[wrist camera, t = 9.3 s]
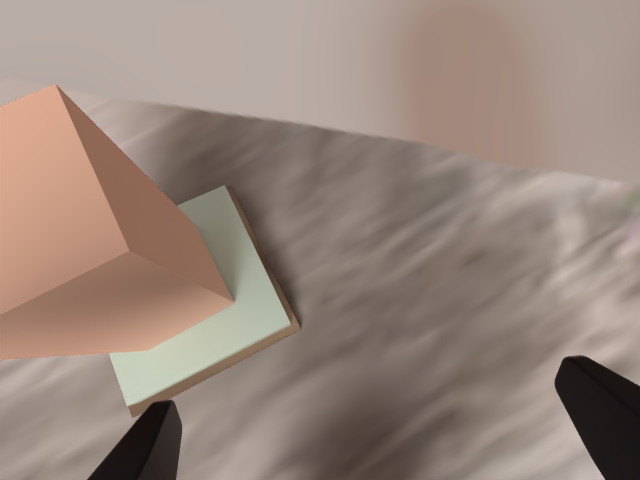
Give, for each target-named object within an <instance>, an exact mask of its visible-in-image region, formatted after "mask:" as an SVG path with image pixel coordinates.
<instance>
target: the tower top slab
mask: <svg viewBox="0 0 640 480" xmlns="http://www.w3.org/2000/svg"><path fill="white" fill-rule="evenodd" d="M177 207H178V208H179V209H180V210H181V211H182V212H183V213H184V214H185V215H186V216H187V217H188V218H189V219H190V220H191V221H192V222H193V223H194V224H195V225H196V226H197V228H198V230H199V232H200V234H201V236H202V238H203V240H204V242H205V244H206V246H207V248H208V250H209V252H210V254H211V256H212V258H213V260H214V262H215V264H216V266H217V268H218V270H219V272H220V274H221V276H222V278H223V280H224V282H225V284H226V286H227V288H228V290H229V292H230V294H231V296H232V298H233V300H234V302H235V303H234V304H233V305H231V306H229V307H227V308H225V309H223V310H222V311H220V312H218V313H216V314H214V315H212V316H211V317H209V318H207V319H205V320H203V321H201V322H200V323H198V324H196V325H194V326H192V327H190V328H189V329H187V330H185V331H183V332H181V333H179V334H178V335H176V336H174V337H172V338H170V339H168V340H167V341H165V342H163V343H161V344H159V345H157V346H156V347H154V348H152V349H150V350H148V351H135V352H118V353H109V355H110V358H111V361H112V364H113V367H114V370H115V373H116V376H117V378H118V381H119V384H120V387H121V390H122V393H123V396H124V399H125V402H126V405H127V406H130V405H133V404H136V403H139V402H141V401H143V400H145V399H147V398H149V397H151V396H153V395H155V394H157V393H159V392H161V391H163V390H164V389H166V388H168V387H170V386H172V385H174V384H176V383H178V382H180V381H182V380H184V379H186V378H188V377H190V376H192V375H194V374H196V373H198V372H200V371H202V370H204V369H206V368H207V367H209V366H211V365H213V364H215V363H217V362H219V361H221V360H223V359H225V358H227V357H229V356H231V355H233V354H235V353H237V352H239V351H241V350H243V349H245V348H247V347H249V346H251V345H252V344H254V343H256V342H258V341H260V340H262V339H264V338H266V337H268V336H270V335H272V334H274V333H276V332H278V331H280V330H282V329H284V328H286V327H288V326H290V325H291V323H290V321H289V319H288V317H287V315H286V312H285V310H284V308H283V306H282V304H281V302H280V300H279V298H278V296H277V294H276V291H275V289H274V287H273V285H272V283H271V281H270V279H269V277H268V275H267V273H266V270H265V268H264V266H263V264H262V262H261V260H260V258H259V256H258V254H257V252H256V249H255V247H254V245H253V243H252V241H251V239H250V237H249V235H248V233H247V231H246V228H245V226H244V224H243V222H242V220H241V218H240V216H239V214H238V212H237V210H236V207H235V205H234V203H233V201H232V199H231V197H230V195H229V193H228V191H227V189H226V186H225V185H224V186H221V187H219V188H217V189H214V190H212V191H210V192H207V193H205V194H202V195H200V196H198V197H195V198H193V199H191V200H188V201H186V202H184V203H181V204H179V205H177Z"/></svg>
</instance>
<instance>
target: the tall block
mask: <svg viewBox="0 0 640 480" xmlns="http://www.w3.org/2000/svg"><path fill="white" fill-rule="evenodd" d="M234 303H235V302H234V300H233V298H232V296H231V294H230V292H229V290H228V288H227V286H226V284H225V282H224V280H223V278H222V276H221V274H220V272H219V270H218V268H217V266H216V264H215V262H214V260H213V258H212V256H211V254H210V252H209V250H208V248H207V246H206V244H205V242H204V240H203V238H202V236H201V234H200V232H199V230H198V228H197V226H196V225H195V224H194V223H193V222H192V221H191V220H190V219H189V218H188V217H187V216H186V215H185V214H184V213H183V212H182V211H181V210H180V209H179V208H178V207H177V206H176V205H175V204H174V203H173V202H172V201H171V200H170V199H169V198H168V197H167V196H166V195H165V194H164V193H163V192H162V191H161V190H160V189H159V188H158V187H157V186H156V185H155V184H154V183H153V182H152V181H151V180H150V179H149V178H148V177H147V176H146V175H145V174H144V173H143V172H142V171H141V170H140V169H139V168H138V167H137V166H136V165H135V163H134V162H133V161H132V160H131V159H130V158H129V157H128V156H127V155H126V154H125V153H124V152H123V151H122V150H121V149H120V148H119V147H118V146H117V145H116V144H115V143H114V142H113V141H112V140H111V139H110V138H109V137H108V136H107V135H106V134H105V133H104V132H103V131H102V130H101V129H100V128H99V127H98V126H97V125H96V124H95V123H94V122H93V121H92V120H91V119H90V118H89V117H88V116H87V115H86V114H85V113H84V112H83V111H82V110H81V109H80V108H79V107H78V106H77V105H76V104H75V103H74V102H73V101H72V100H71V99H70V98H69V97H68V96H67V95H66V94H65V93H64V92H63V91H62V90H61V89H60V88H59V87H58V86H57V85H56V84H54V85H52V86H49V87H47V88H44V89H42V90H40V91H37V92H35V93H32V94H30V95H27V96H25V97H23V98H20V99H18V100H15V101H13V102H11V103H8V104H6V105H3V106H1V107H0V360H3V359H19V358H36V357H52V356H69V355H85V354H102V353H118V352H135V351H148V350H150V349H152V348H154V347H156V346H157V345H159V344H161V343H163V342H165V341H167V340H168V339H170V338H172V337H174V336H176V335H178V334H179V333H181V332H183V331H185V330H187V329H189V328H190V327H192V326H194V325H196V324H198V323H200V322H201V321H203V320H205V319H207V318H209V317H211V316H212V315H214V314H216V313H218V312H220V311H222V310H223V309H225V308H227V307H229V306H231V305H233V304H234Z"/></svg>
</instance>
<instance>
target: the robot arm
mask: <svg viewBox="0 0 640 480" xmlns="http://www.w3.org/2000/svg"><path fill="white" fill-rule="evenodd" d="M555 388H556V391H557V393H558V395H559V397H560V399H561V401H562V403H563V405H564V406H565V408H566V410H567V412H568V414H569V416H570V418H571V420H572V422H573V424H574V426H575V428H576V430H577V432H578V433H579V435H580V437H581V439H582V441H583V443H584V445H585V447H586V449H587V450H588V452H589V454H590V456H591V458H592V459H593V461H594V462H595V464H596V466H597V467H598V469H599V471H600V472H601V474H602V475H603V477H604V478H605V480H640V386H639V385H637V384H635V383H633V382H631V381H630V380H628V379H626V378H624V377H622V376H621V375H619V374H617V373H615V372H613V371H611V370H610V369H608V368H606V367H604V366H602V365H601V364H599V363H597V362H595V361H593V360H592V359H590V358H588V357H586V356H582V355H578V356H568V357H565V358H564V359H563V360H562V363H561V365H560V368H559V370H558V373H557V375H556V378H555ZM181 437H182V423H181V420H180V417H179V414H178V411H177V408H176V405H175V403H174V401H173V400H161V401H155V402H153V403H152V404H150V406H149V407H148V408H147V409H146V410H145V411H144V413H143V414H142V415H141V416H140V417H139V419H138V420H137V421H136V422H135V423H134V425H133V426H132V427H131V428H130V429H129V430H128V432H127V433H126V434H125V435H124V436H123V438H122V439H121V440H120V441H119V442H118V444H117V445H116V446H115V447H114V448H113V449H112V451H111V452H110V453H109V454H108V455H107V457H106V458H105V459H104V460H103V461H102V463H101V464H100V465H99V466H98V467H97V468H96V470H95V471H94V472H93V473H92V474H91V476H90V477H89V478H88V479H87V480H176V476H177V468H178V460H179V453H180V445H181Z"/></svg>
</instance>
